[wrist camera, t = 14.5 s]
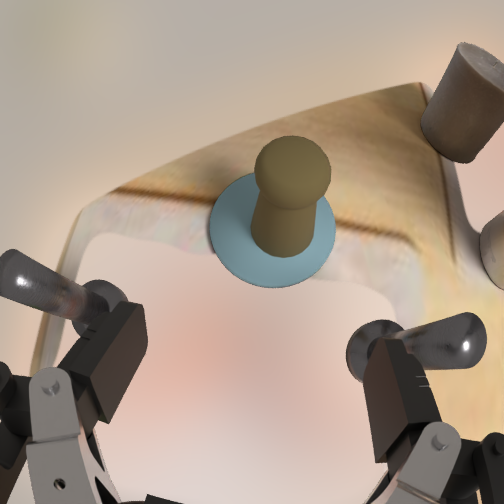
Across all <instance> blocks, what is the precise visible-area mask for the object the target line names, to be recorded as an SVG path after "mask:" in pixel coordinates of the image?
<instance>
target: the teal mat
mask: <svg viewBox="0 0 504 504" xmlns="http://www.w3.org/2000/svg"><path fill="white" fill-rule="evenodd" d="M259 192H260V190H259V188H258V186H257V184H256V179H255V173H252V174H249V175H246V176H244V177H242V178H240V179H238V180H236V181H235V182H233V183H232V184H231V185H229V186H228V187H227V188H226V189H225V190H224V191H223V192H222V194H221V195H220V196H219V198H218V199H217V201H216V203H215V205H214V207H213V210H212V213H211V217H210V237H211V241H212V244H213V247H214V250H215V252H216V254H217V256H218V258H219V259H220V261H221V263H222V264H223V265H224V266H225V267H226V268H227V269H228V270H229V271H230V272H231V273H232V274H233V275H235V276H236V277H238V278H239V279H241V280H243V281H245V282H247V283H249V284H252V285H255V286H260V287H265V288H282V287H288V286H292V285H295V284H298V283H300V282H302V281H304V280H306V279H308V278H309V277H311V276H312V275H313V274H315V273H316V272H317V271H318V270H319V269H320V268H321V266H322V265H323V264H324V263H325V261H326V260H327V258H328V256H329V255H330V252H331V250H332V248H333V245H334V241H335V233H336V227H335V219H334V215H333V212H332V209H331V207H330V205H329V203H328V201H327V200H326V198H325V197H324V196H322V197H321V198H320V199H319V200H318V201H317V207H316V218H315V228H314V237H313V239H312V241H311V243H310V245H309V246H308V247H307V248H306V249H305V250H304V251H303V252H302V253H300V254H298V255H296V256H294V257H287V258H280V257H274V256H271V255H269V254H267V253H265V252H263V251H262V250H261V249H260V248H259V247H258V246H257V245H256V243H255V241H254V240H253V238H252V235H251V228H250V226H251V221H252V217H253V213H254V209H255V206H256V202H257V199H258V195H259Z"/></svg>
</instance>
